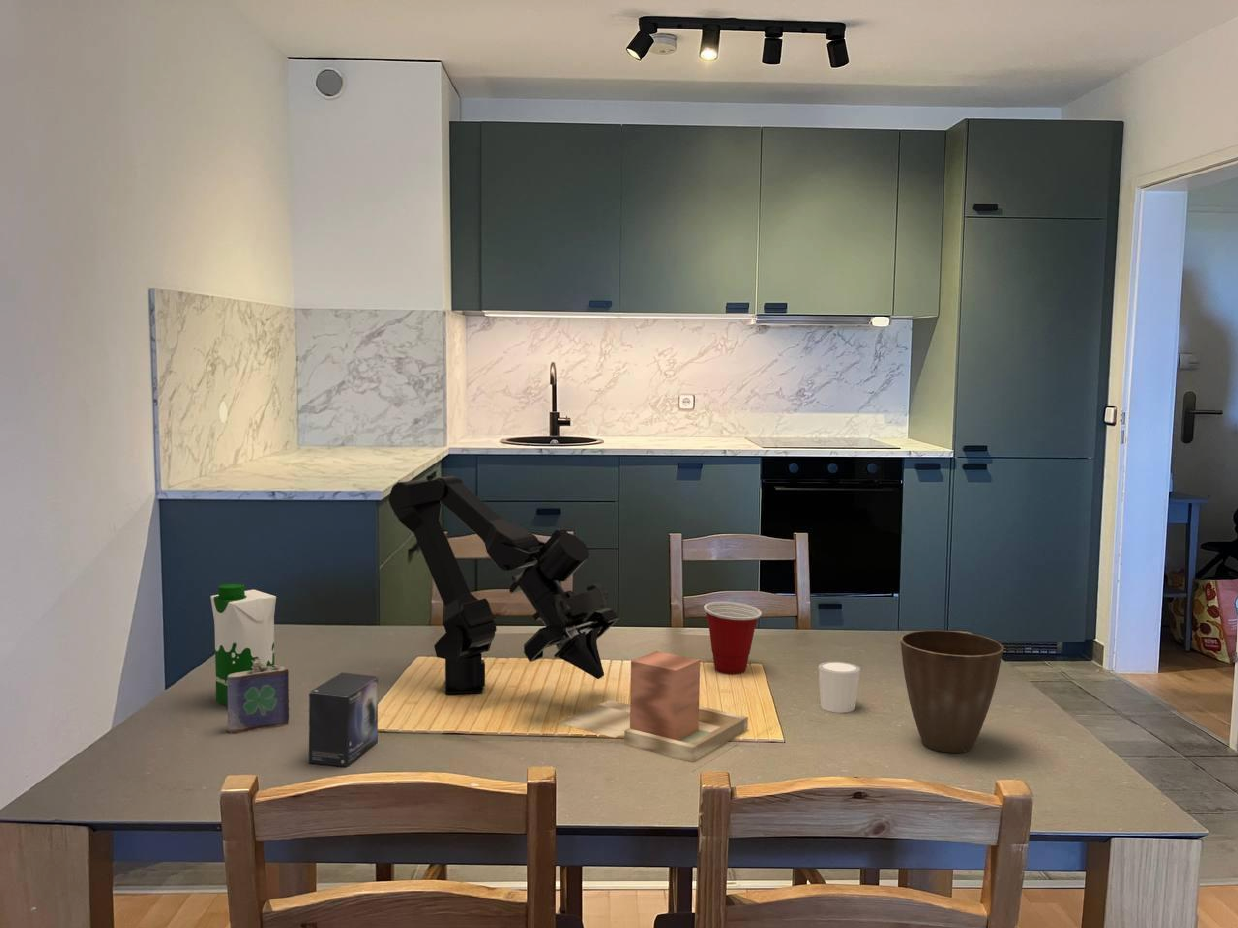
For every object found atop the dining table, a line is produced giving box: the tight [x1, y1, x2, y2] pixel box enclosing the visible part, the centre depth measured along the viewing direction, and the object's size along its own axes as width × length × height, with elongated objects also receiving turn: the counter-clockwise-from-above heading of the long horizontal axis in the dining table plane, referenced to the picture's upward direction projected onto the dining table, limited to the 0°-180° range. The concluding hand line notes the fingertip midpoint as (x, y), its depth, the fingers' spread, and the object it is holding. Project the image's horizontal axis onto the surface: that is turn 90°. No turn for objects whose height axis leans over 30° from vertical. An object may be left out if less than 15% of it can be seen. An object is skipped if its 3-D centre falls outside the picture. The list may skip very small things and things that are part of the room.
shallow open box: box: [556, 699, 749, 772], centre depth 164 cm, size 25×16×4 cm, turn 55°
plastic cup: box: [703, 601, 763, 675], centre depth 199 cm, size 11×11×12 cm
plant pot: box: [900, 630, 1005, 754], centre depth 162 cm, size 15×15×16 cm
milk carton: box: [209, 582, 277, 708], centre depth 177 cm, size 9×9×20 cm
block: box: [629, 650, 701, 741], centre depth 162 cm, size 8×7×11 cm
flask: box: [227, 658, 290, 734], centre depth 166 cm, size 9×3×11 cm, turn 121°
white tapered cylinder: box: [818, 661, 861, 714], centre depth 179 cm, size 7×7×7 cm
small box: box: [307, 672, 379, 767], centre depth 155 cm, size 11×6×10 cm, turn 168°
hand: (601, 677), depth 169 cm, fingers closed
